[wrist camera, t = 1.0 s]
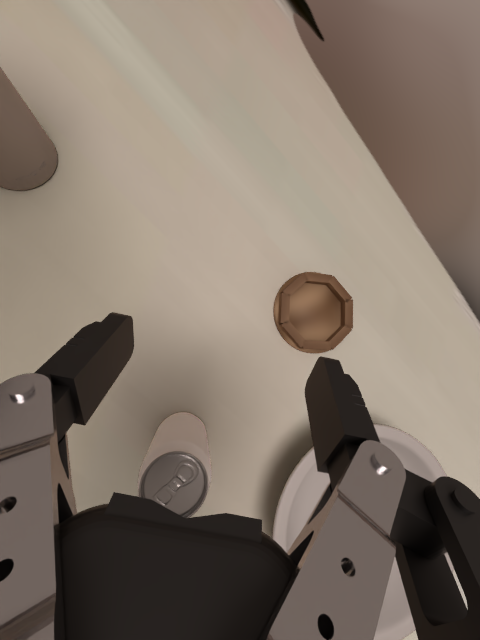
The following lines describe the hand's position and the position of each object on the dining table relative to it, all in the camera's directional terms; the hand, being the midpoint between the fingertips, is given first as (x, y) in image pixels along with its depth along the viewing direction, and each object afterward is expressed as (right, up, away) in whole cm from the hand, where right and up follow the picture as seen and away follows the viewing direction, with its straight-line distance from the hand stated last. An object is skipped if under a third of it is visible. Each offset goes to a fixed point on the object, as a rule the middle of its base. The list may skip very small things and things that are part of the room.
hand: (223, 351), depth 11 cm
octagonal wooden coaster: (+12, +2, +27) cm, 29 cm away
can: (-7, -14, +22) cm, 27 cm away
